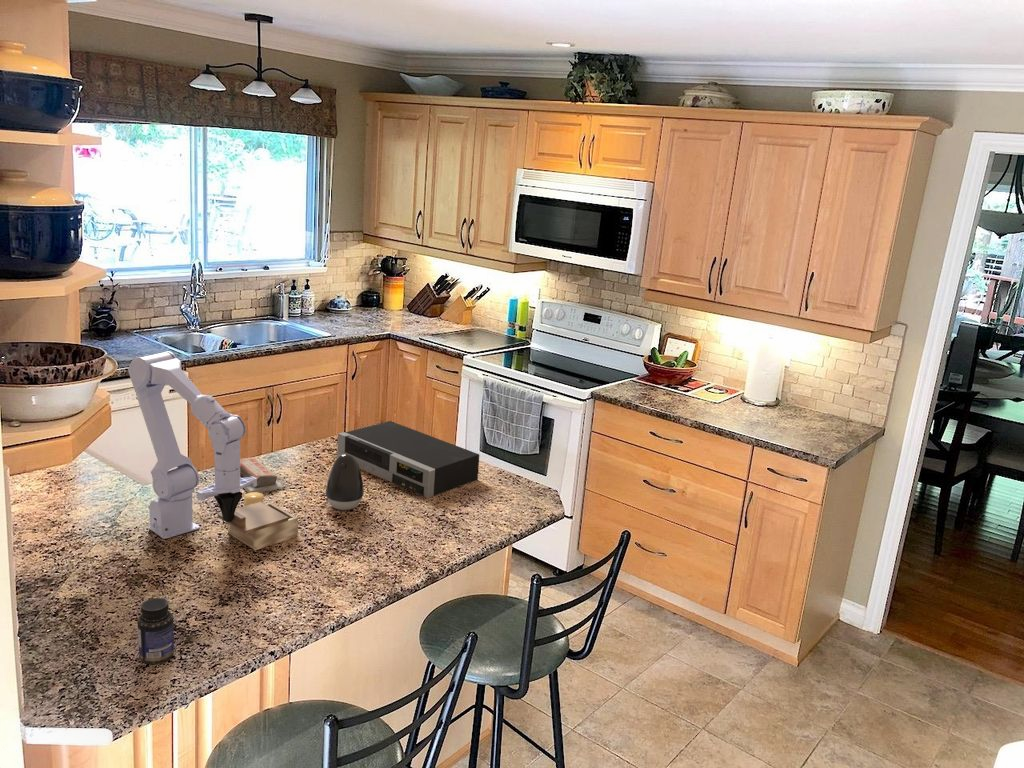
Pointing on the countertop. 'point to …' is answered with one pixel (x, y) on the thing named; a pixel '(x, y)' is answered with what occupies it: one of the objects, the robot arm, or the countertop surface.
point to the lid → (255, 517)
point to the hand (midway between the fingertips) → (227, 520)
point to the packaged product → (258, 475)
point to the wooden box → (268, 531)
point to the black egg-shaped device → (345, 483)
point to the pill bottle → (155, 632)
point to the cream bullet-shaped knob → (252, 498)
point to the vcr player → (410, 458)
